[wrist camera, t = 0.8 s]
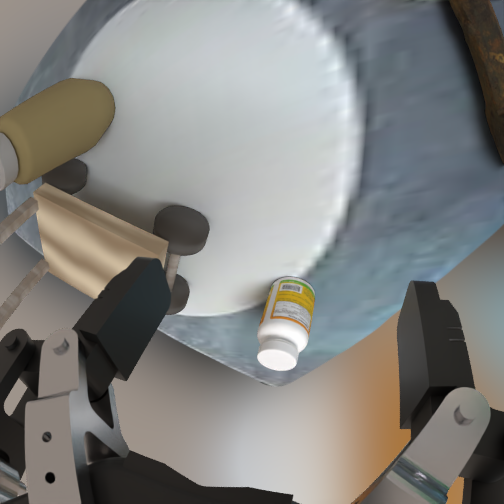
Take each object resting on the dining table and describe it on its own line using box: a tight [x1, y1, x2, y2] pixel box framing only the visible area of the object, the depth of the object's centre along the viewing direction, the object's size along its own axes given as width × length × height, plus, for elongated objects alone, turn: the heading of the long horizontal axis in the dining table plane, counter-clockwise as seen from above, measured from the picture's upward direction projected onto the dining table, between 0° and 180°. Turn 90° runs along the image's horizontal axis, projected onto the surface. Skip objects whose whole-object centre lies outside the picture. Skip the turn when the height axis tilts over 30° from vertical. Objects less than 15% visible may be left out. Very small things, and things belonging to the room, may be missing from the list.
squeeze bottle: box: [0, 78, 115, 191], centre depth 21 cm, size 8×8×18 cm
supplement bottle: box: [257, 277, 315, 371], centre depth 34 cm, size 5×5×10 cm
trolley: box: [0, 159, 210, 329], centre depth 29 cm, size 13×22×22 cm, turn 70°
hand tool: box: [449, 0, 504, 164], centre depth 15 cm, size 19×4×5 cm, turn 26°
